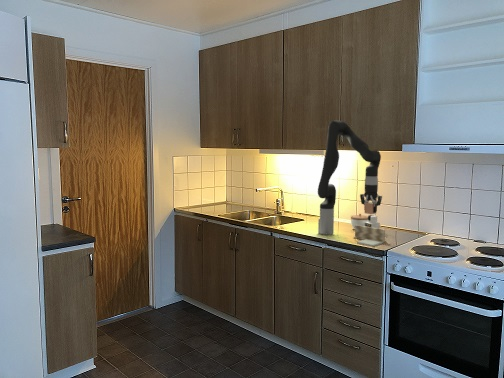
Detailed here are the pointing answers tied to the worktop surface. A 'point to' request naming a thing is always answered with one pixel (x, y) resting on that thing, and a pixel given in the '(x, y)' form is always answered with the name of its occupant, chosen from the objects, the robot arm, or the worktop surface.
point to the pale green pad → (369, 242)
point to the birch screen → (369, 233)
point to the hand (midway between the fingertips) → (370, 211)
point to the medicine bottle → (372, 222)
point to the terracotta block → (369, 208)
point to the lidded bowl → (358, 220)
